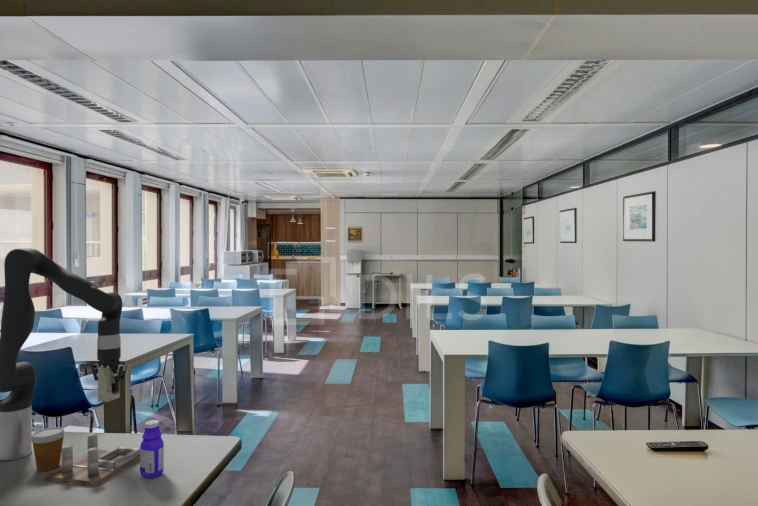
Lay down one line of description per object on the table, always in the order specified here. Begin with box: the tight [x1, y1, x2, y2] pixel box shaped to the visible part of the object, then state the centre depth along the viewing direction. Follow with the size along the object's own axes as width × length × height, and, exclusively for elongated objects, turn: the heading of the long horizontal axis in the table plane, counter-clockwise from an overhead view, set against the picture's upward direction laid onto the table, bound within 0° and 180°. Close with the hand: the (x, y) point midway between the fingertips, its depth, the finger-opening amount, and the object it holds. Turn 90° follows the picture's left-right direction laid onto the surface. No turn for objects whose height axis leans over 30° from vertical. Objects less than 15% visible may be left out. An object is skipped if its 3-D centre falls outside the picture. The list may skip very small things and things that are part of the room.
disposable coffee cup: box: [31, 426, 66, 472], centre depth 153 cm, size 10×10×12 cm
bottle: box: [139, 419, 165, 479], centre depth 147 cm, size 7×6×17 cm
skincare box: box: [97, 367, 121, 403], centre depth 166 cm, size 6×4×12 cm
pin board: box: [42, 432, 140, 487], centre depth 151 cm, size 20×20×10 cm
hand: (109, 392), depth 166 cm, fingers closed on skincare box, 4 cm apart
